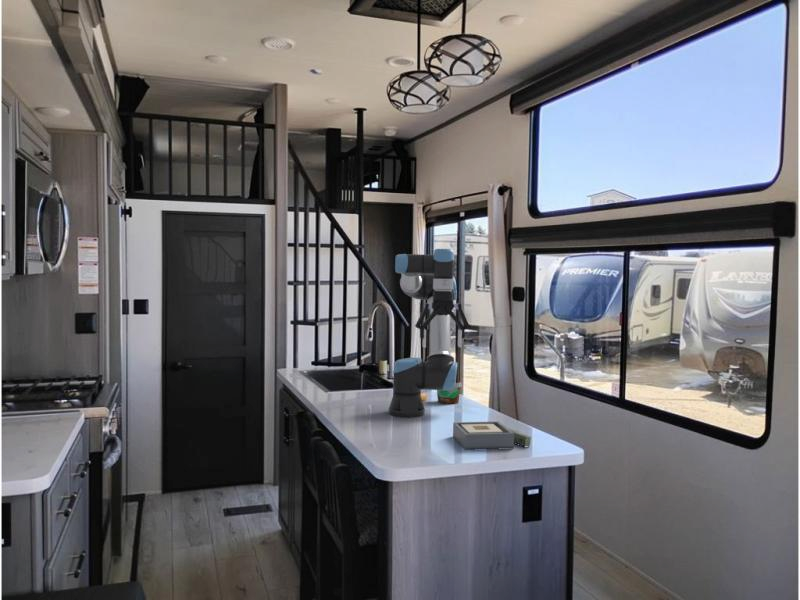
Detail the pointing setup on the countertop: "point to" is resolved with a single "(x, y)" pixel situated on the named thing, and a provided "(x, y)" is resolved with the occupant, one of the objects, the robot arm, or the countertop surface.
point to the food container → (449, 395)
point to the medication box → (521, 438)
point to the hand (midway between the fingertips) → (442, 347)
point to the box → (483, 435)
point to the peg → (423, 396)
